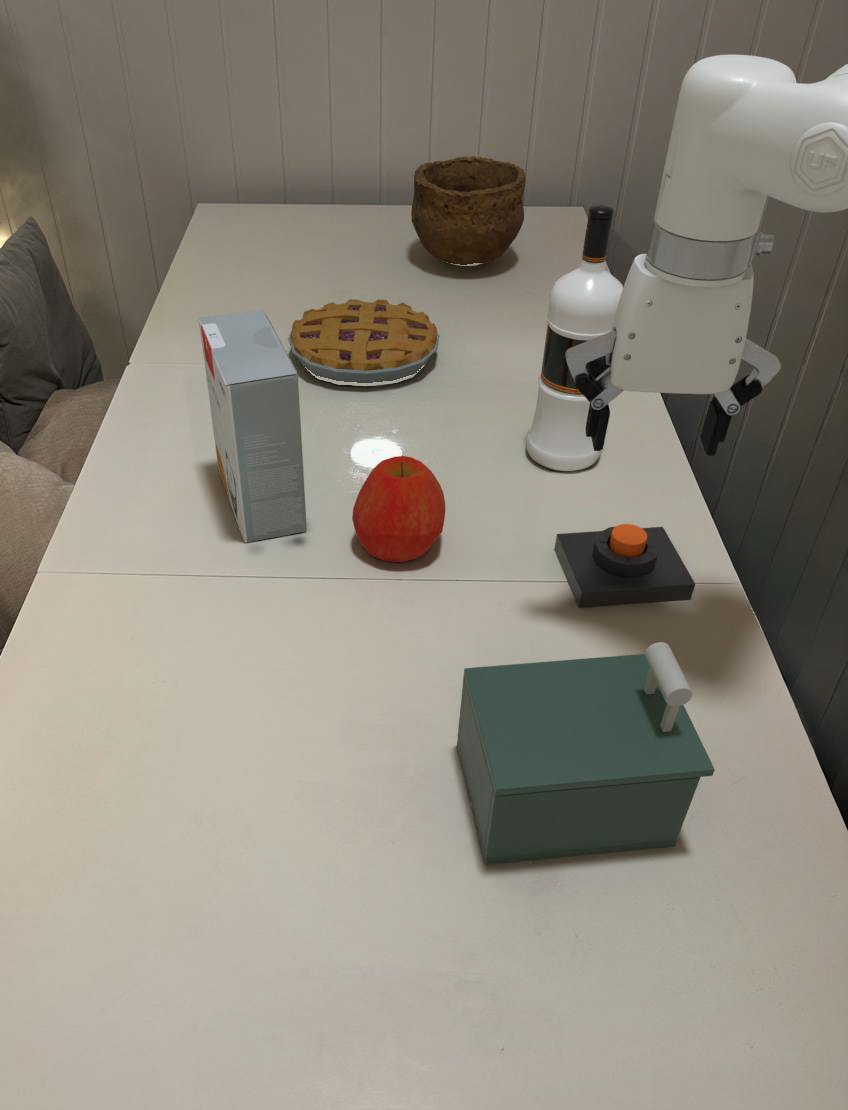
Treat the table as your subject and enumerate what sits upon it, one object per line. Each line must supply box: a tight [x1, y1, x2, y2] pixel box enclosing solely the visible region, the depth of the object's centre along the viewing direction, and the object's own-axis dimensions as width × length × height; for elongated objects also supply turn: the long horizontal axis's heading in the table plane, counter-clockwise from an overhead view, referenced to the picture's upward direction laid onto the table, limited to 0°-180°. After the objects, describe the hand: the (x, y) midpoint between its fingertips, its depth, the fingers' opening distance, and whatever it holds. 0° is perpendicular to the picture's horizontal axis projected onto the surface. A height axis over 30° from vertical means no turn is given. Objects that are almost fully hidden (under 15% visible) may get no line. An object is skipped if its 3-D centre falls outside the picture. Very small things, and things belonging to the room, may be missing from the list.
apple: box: [351, 455, 447, 563], centre depth 102 cm, size 10×10×10 cm
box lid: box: [463, 641, 716, 796], centre depth 73 cm, size 16×13×6 cm
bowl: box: [410, 155, 526, 265], centre depth 159 cm, size 19×19×15 cm
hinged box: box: [456, 675, 701, 865], centre depth 78 cm, size 16×13×9 cm
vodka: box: [525, 203, 624, 472], centre depth 109 cm, size 9×9×30 cm
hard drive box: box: [197, 309, 307, 544], centre depth 105 cm, size 16×8×20 cm, turn 17°
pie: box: [287, 298, 440, 383], centre depth 137 cm, size 22×22×5 cm
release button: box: [609, 523, 647, 557], centre depth 99 cm, size 4×4×2 cm
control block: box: [553, 526, 696, 609], centre depth 101 cm, size 12×10×4 cm
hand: (651, 445), depth 83 cm, fingers open, 9 cm apart
